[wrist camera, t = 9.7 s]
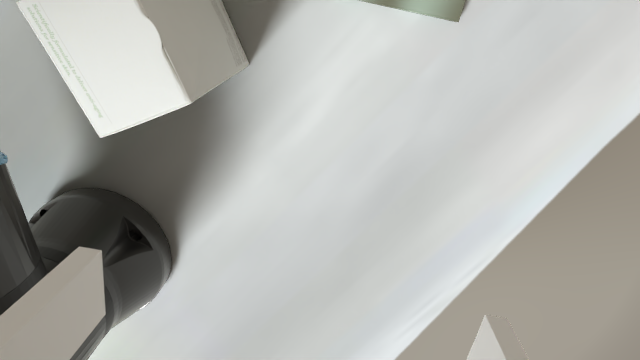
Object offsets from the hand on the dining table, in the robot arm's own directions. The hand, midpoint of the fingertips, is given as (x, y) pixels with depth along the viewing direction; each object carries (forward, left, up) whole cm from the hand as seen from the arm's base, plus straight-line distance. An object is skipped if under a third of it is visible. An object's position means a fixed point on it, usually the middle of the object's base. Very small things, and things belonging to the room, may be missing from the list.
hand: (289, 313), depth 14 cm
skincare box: (-13, +5, -26) cm, 29 cm away
